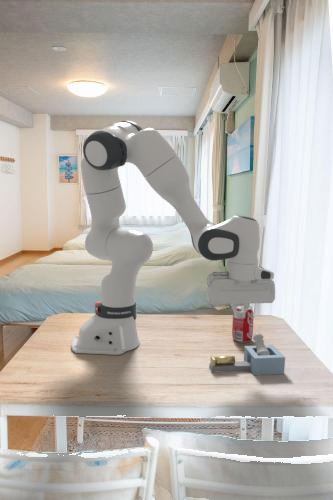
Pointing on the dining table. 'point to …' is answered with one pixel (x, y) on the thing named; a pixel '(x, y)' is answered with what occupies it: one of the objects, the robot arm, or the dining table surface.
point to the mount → (256, 362)
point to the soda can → (243, 326)
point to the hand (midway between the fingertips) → (239, 317)
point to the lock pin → (222, 360)
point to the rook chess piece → (260, 345)
